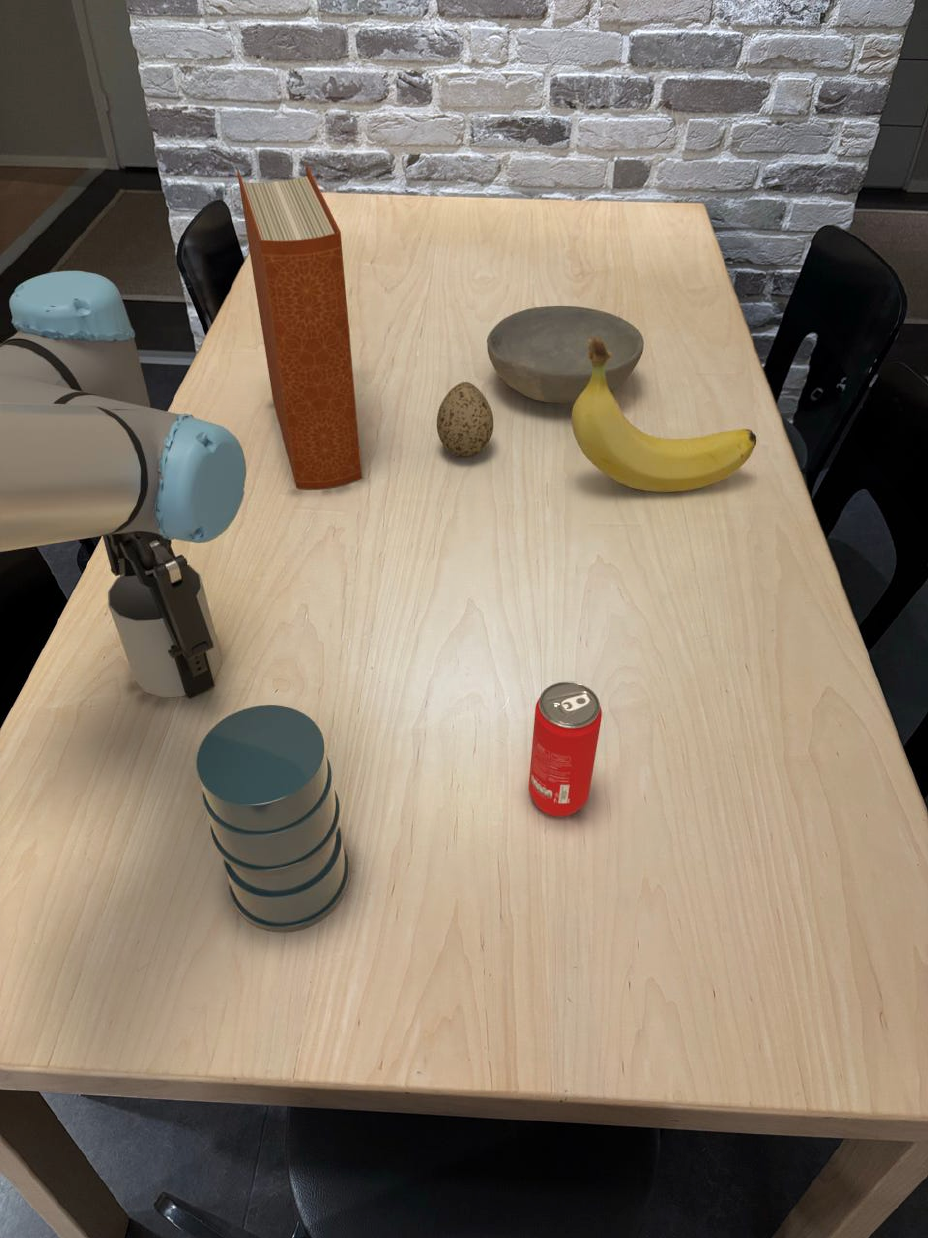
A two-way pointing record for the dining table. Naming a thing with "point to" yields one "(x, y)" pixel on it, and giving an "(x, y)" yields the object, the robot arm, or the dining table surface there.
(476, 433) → the decorative egg
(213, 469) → the robot arm
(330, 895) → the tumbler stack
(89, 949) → the dining table surface
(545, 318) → the bowl
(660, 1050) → the dining table surface
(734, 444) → the banana
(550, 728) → the beverage can
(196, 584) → the cup
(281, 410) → the book
